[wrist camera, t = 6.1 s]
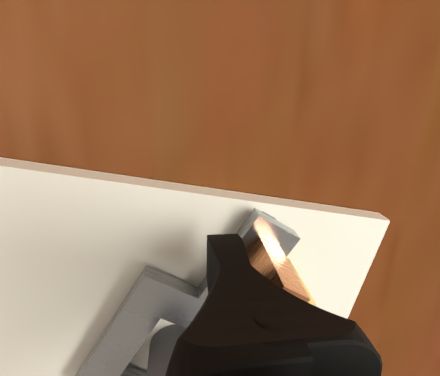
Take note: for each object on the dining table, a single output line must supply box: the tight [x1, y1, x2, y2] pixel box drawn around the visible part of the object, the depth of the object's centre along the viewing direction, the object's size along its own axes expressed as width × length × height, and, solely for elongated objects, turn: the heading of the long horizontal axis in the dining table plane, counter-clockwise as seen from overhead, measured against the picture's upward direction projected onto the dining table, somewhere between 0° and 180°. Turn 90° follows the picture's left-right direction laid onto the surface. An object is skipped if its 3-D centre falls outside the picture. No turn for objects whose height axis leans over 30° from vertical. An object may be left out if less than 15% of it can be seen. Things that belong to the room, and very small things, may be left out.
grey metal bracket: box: [75, 208, 310, 376], centre depth 14 cm, size 13×8×4 cm, turn 147°
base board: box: [0, 157, 390, 376], centre depth 15 cm, size 19×18×5 cm
